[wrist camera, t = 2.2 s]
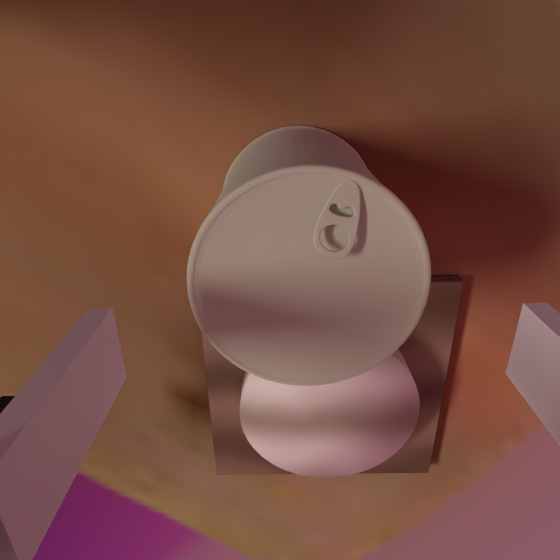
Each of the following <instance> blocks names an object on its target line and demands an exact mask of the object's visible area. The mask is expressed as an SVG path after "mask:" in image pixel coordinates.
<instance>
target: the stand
mask: <svg viewBox="0 0 560 560" xmlns="http://www.w3.org/2000/svg"><path fill="white" fill-rule="evenodd" d="M462 287H463V281H462V279H461V278H460V277H459V276H458V275H434V276H431V285H430V291H429V296H428V300H427V303H426V306H425V309H424V311H423V314H422V316H421V318H420V320H419V322H418V324H417V325H416V327H415V329H414V330H413V332H412V333H411V334H410V336H409V337H408V338H407V340H406V341H405V342H404V343H403V344H402V345H401V346H400V347H399V348H398V349H397V350H396V351H395V352H394V353H393V354H392V355H391V356H389V357H388V358H387V359H386V360H384V361H383V362H382V363H380V364H379V365H377V366H375V367H374V368H372V369H370V370H368V371H366V372H364V373H362V374H360V375H358V376H355V377H352V378H349V379H346V380H343V381H340V382H336V383H331V384H324V385H314V386H299V385H286V384H282V383H277V382H272V381H268V380H265V379H262V378H259V377H257V376H255V375H253V374H250V373H248V372H246V371H244V370H242V369H240V368H239V367H237V366H236V365H234V364H233V363H231V362H230V361H229V360H228V359H226V358H225V357H224V356H223V355H221V354H220V353H219V352H218V351H217V350H216V349H215V348H214V347H213V346H212V344H211V343H210V342H209V340H208V339H207V338H206V337H205V335H204V334H203V332H202V330H201V333H202V342H203V351H204V360H205V369H206V378H207V387H208V396H209V405H210V414H211V424H212V433H213V442H214V451H215V460H216V469H217V475H243V474H299V475H303V476H309V477H320V478H331V477H342V476H348V475H352V474H356V473H429V468H430V462H431V457H432V451H433V446H434V441H435V435H436V430H437V424H438V419H439V413H440V408H441V402H442V397H443V391H444V386H445V380H446V375H447V369H448V364H449V358H450V353H451V347H452V342H453V337H454V331H455V326H456V320H457V315H458V309H459V304H460V298H461V293H462Z"/></svg>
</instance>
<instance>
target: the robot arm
mask: <svg viewBox="0 0 560 560" xmlns="http://www.w3.org/2000/svg"><path fill="white" fill-rule="evenodd" d="M506 375H507V376H508V378H509V379H510V380H511V382H512V383H513V384H514V386H515V387H516V388H517V390H518V391H519V392H520V394H521V395H522V396H523V398H524V399H525V400H526V402H527V403H528V404H529V406H530V407H531V408H532V410H533V411H534V412H535V414H536V415H537V416H538V418H539V419H540V420H541V422H542V423H543V424H544V426H545V427H546V428H547V430H548V431H549V432H550V433H551V435H552V436H553V437H554V439H555V440H556V441H557V443H558V444H559V445H560V313H559V312H558V311H556V310H555V309H554V308H553V307H552V306H550V305H549V304H548V303H523V306H522V310H521V314H520V318H519V322H518V326H517V330H516V334H515V338H514V342H513V346H512V350H511V354H510V358H509V362H508V366H507V370H506ZM126 378H127V377H126V372H125V367H124V362H123V357H122V352H121V347H120V342H119V337H118V332H117V327H116V322H115V317H114V312H113V308H89V309H88V310H87V311H86V312H85V313H84V315H83V316H82V317H81V318H80V319H79V321H78V322H77V323H76V324H75V325H74V327H73V328H72V329H71V330H70V331H69V332H68V334H67V335H66V336H65V337H64V338H63V340H62V341H61V342H60V343H59V344H58V346H57V347H56V348H55V349H54V350H53V352H52V353H51V354H50V355H49V356H48V358H47V359H46V360H45V361H44V362H43V363H42V365H41V366H40V367H39V368H38V369H37V371H36V372H35V373H34V374H33V375H32V377H31V378H30V379H29V380H28V381H27V383H26V384H25V385H24V386H23V387H22V389H21V390H20V391H19V392H18V393H17V395H16V396H2V397H1V398H0V560H32V559H33V557H34V555H35V553H36V551H37V549H38V547H39V545H40V543H41V541H42V539H43V538H44V536H45V534H46V532H47V530H48V528H49V526H50V524H51V522H52V520H53V518H54V516H55V514H56V513H57V511H58V509H59V507H60V505H61V503H62V501H63V499H64V497H65V495H66V493H67V491H68V489H69V488H70V486H71V484H72V482H73V480H74V478H75V476H76V474H77V472H78V470H79V468H80V466H81V464H82V463H83V461H84V459H85V457H86V455H87V453H88V451H89V449H90V447H91V445H92V443H93V441H94V439H95V437H96V436H97V434H98V432H99V430H100V428H101V426H102V424H103V422H104V420H105V418H106V416H107V414H108V412H109V411H110V409H111V407H112V405H113V403H114V401H115V399H116V397H117V395H118V393H119V391H120V389H121V387H122V385H123V384H124V382H125V380H126Z"/></svg>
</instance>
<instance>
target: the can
mask: <svg viewBox="0 0 560 560" xmlns="http://www.w3.org/2000/svg"><path fill="white" fill-rule="evenodd" d="M430 285H431V261H430V253H429V249H428V245H427V242H426V239H425V237H424V234H423V231H422V229H421V227H420V225H419V223H418V222H417V220H416V218H415V217H414V215H413V214H412V213H411V211H410V210H409V209H408V207H407V206H406V205H405V204H404V203H403V202H402V201H401V200H400V199H399V198H398V197H397V196H396V195H395V194H394V193H393V192H392V191H390V190H389V189H388V188H386V187H385V186H384V185H382V184H381V183H380V182H379V181H378V180H377V179H376V178H375V177H374V176H373V174H372V173H371V172H370V171H369V170H368V169H367V167H366V165H365V163H364V161H363V160H362V158H361V157H360V155H359V154H358V153H357V152H356V151H355V149H354V148H353V147H352V146H351V145H349V144H348V143H347V142H346V141H344V140H343V139H342V138H340V137H338V136H337V135H335V134H333V133H331V132H328V131H326V130H323V129H319V128H315V127H309V126H289V127H283V128H279V129H275V130H272V131H270V132H267V133H265V134H263V135H261V136H260V137H258V138H256V139H255V140H253V141H252V142H251V143H250V144H248V145H247V146H246V147H245V148H244V149H243V150H242V151H241V152H240V153H239V155H238V156H237V157H236V158H235V160H234V161H233V163H232V165H231V167H230V168H229V171H228V173H227V175H226V178H225V181H224V185H223V190H222V192H221V194H220V196H219V198H218V200H217V202H216V204H215V206H214V208H213V210H212V211H211V212H210V213H209V214H208V216H207V217H206V219H205V220H204V222H203V223H202V225H201V227H200V229H199V231H198V233H197V235H196V237H195V240H194V242H193V245H192V248H191V251H190V255H189V260H188V267H187V288H188V297H189V301H190V304H191V308H192V311H193V314H194V316H195V319H196V321H197V323H198V325H199V327H200V329H201V330H202V332H203V334H204V335H205V337H206V338H207V339H208V340H209V342H210V343H211V344H212V346H213V347H214V348H215V349H216V350H217V351H218V352H219V353H220V354H221V355H223V356H224V357H225V358H226V359H228V360H229V361H230V362H231V363H233V364H234V365H236V366H237V367H239V368H240V369H242V370H244V371H246V372H248V373H250V374H253V375H255V376H257V377H259V378H262V379H265V380H268V381H272V382H277V383H282V384H286V385H299V386H314V385H324V384H331V383H336V382H340V381H343V380H346V379H349V378H352V377H355V376H358V375H360V374H362V373H364V372H366V371H368V370H370V369H372V368H374V367H375V366H377V365H379V364H380V363H382V362H383V361H384V360H386V359H387V358H388V357H389V356H391V355H392V354H393V353H394V352H395V351H396V350H397V349H398V348H399V347H400V346H401V345H402V344H403V343H404V342H405V341H406V340H407V338H408V337H409V336H410V334H411V333H412V332H413V330H414V329H415V327H416V325H417V324H418V322H419V320H420V318H421V316H422V314H423V311H424V309H425V306H426V303H427V300H428V296H429V291H430Z"/></svg>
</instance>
